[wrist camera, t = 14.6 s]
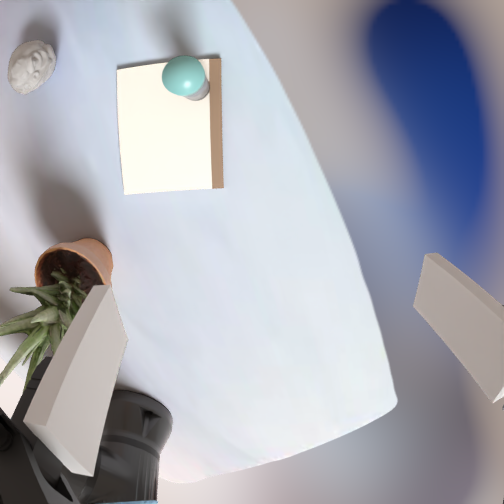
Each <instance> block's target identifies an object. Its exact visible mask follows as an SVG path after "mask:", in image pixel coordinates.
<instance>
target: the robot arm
mask: <svg viewBox="0 0 504 504" xmlns="http://www.w3.org/2000/svg"><path fill="white" fill-rule="evenodd" d="M413 307H414V308H415V309H416V310H417V311H418V312H419V313H420V315H421V316H422V317H423V318H424V319H425V320H426V321H427V322H428V324H429V325H430V326H431V327H432V328H433V329H434V331H435V332H436V333H437V334H438V335H439V336H440V338H441V339H442V340H443V341H444V342H445V343H446V345H447V346H448V347H449V348H450V349H451V351H452V352H453V353H454V354H455V355H456V357H457V358H458V359H459V361H460V362H461V363H462V364H463V365H464V367H465V368H466V369H467V370H468V372H469V373H470V374H471V376H472V377H473V378H474V380H475V381H476V382H477V383H478V385H479V386H480V387H481V389H482V390H483V391H484V393H485V394H486V395H487V397H488V398H489V399H490V401H491V402H492V403H493V402H495V401H497V400H498V399H500V398H502V397H503V396H504V305H502V304H500V303H499V302H498V301H497V300H496V299H494V298H493V297H492V296H491V295H490V294H489V293H487V292H486V291H485V290H484V289H483V288H481V287H480V286H479V285H478V284H477V283H475V282H474V281H473V280H472V279H470V278H469V277H468V276H467V275H465V274H464V273H463V272H462V271H460V270H459V269H458V268H457V267H455V266H454V265H453V264H451V263H450V262H449V261H447V260H446V259H445V258H444V257H442V256H441V255H440V254H438V253H431V254H425V256H424V261H423V266H422V271H421V275H420V280H419V284H418V288H417V293H416V297H415V301H414V304H413ZM127 342H128V337H127V334H126V332H125V329H124V326H123V323H122V320H121V317H120V314H119V311H118V307H117V304H116V301H115V298H114V294H113V291H112V288H111V285H96V286H93V288H92V289H91V291H90V292H89V294H88V296H87V297H86V299H85V301H84V302H83V304H82V306H81V307H80V309H79V311H78V312H77V314H76V316H75V318H74V319H73V321H72V323H71V325H70V326H69V328H68V330H67V332H66V333H65V335H64V337H63V339H62V341H61V343H60V344H59V346H58V348H57V350H56V352H55V354H54V356H53V357H45V358H44V359H43V360H42V361H41V362H40V363H39V364H38V365H37V366H36V368H35V370H34V372H33V374H32V376H31V380H29V382H28V384H27V386H26V389H25V390H24V392H23V394H22V396H21V398H20V401H19V403H18V405H17V407H16V409H15V411H14V413H13V416H12V417H11V419H9V418H8V416H7V415H6V414H5V413H4V411H3V410H2V409H1V408H0V504H157V503H158V502H157V488H158V472H159V458H160V453H161V451H162V449H163V447H164V445H165V443H166V442H167V440H168V438H169V436H170V434H171V431H172V422H173V419H172V416H171V414H170V412H169V411H168V410H167V409H166V408H165V407H164V406H163V405H161V404H160V403H159V402H157V401H155V400H153V399H151V398H149V397H147V396H144V395H141V394H138V393H134V392H129V391H121V390H115V391H113V389H114V386H115V382H116V379H117V375H118V372H119V368H120V365H121V361H122V358H123V355H124V352H125V348H126V345H127ZM502 410H504V405H503V409H502ZM503 504H504V500H503Z"/></svg>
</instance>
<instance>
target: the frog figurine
mask: <svg viewBox="0 0 504 504" xmlns="http://www.w3.org/2000/svg"><path fill="white" fill-rule="evenodd" d="M55 65H56V56H55V54H54V50H53V48H52V46H51V45H49V44H45V43H44V42H43V41H40V40H33V41H30V42H25V43H23V44H21V45H19V46H18V47H17V48H16V49H15V51H14V52H13V54H12V56H11V58H10V61H9V67H8V80H9V82H10V84H11V86H12V88H13V89H14V90H15V91H16V92H18V93H22V94H24V95H26V94H27V93H29V92H31V91H33V90H35V89H37V88H39V87H40V85H41V84H43V83H44V82H46V81H47V80H48V79H49V78H50V76H51V75H52V73H53V71H54V69H55Z"/></svg>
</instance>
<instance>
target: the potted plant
mask: <svg viewBox="0 0 504 504" xmlns="http://www.w3.org/2000/svg"><path fill="white" fill-rule="evenodd" d="M112 269H113V262H112V255H111V253H110V251H109V250H108V249H107V247H106V246H105V245H104V244H102V243H101V242H100V241H98V240H96V239H92V238H83V239H80V240H78V241H75V242H71V243H59V244H56V245H54V246H52V247H50V248H49V249H47V250H46V251H45V252H44V253H43V254H42V255H41V256H40V257H39V259H38V261H37V264H36V266H35V283H36V287H26V288H24V287H15V288H10V291H12V292H16V293H21V294H27V295H34V296H35V297H36V298H37V299H38V300H39V301H40V303H41V304H42V306H40V307H38V308H37V309H36V310H34V311H31V312H28V313H24V314H21V315H19V316H16V317H14V318H12V319H10V320H8V321H6V322H4V323H2V324H1V325H0V327H3V328H0V336H3V335H8V334H13V333H26V334H27V335H28V337H27V338H26V339H25V340H24V342H23V343H22V344H21V345H20V346H19V348H18V349H17V351H16V352H15V354H14V355H13V357H12V358H11V359H10V361H9V363H8V364H7V365H6V367H5V369H4V370H3V371H2V373H1V374H0V386H1V384H2V383H3V381H4V380H5V379H6V378H7V376H8V375H9V374H10V373H11V372H12V370H13V369H14V368H15V367H16V366H17V365H18V364H19V362H20V361H21V360H22V359H23V358H24V357H25V356H27V357H26V358H25V360H24V362H23V364H22V366H23V365H24V364H25V362H26V361H27V360H28V358H29V357H30V356H31V355H32V353H33V355H32V358H31V361H30V365H29V369H28V373H27V377H26V382H25V386H24V390H25V389H26V386H27V384H28V382H29V380H31V376H32V374H33V372H34V370H35V368H36V366H37V365H38V364H39V363H40V362H41V360H42V358H43V355H44V353H45V351H46V350H47V348H48V346H49V345H50V344H51V345H52V346H51V350H53V356H54V354H55V352H56V350H57V348H58V346H59V344H60V343H61V341H62V339H63V336H64V335H65V333H66V332H67V330H68V328H69V326H70V325H71V323H72V321H73V319H74V318H75V316H76V314H77V312H78V311H79V309H80V307H81V306H82V304H83V302H84V301H85V299H86V297H87V296H88V294H89V292H90V291H91V289H92V288H93V286H96V285H111V288H112V284H111V272H112ZM4 326H5V327H4ZM24 390H23V392H24Z"/></svg>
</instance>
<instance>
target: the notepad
mask: <svg viewBox="0 0 504 504" xmlns="http://www.w3.org/2000/svg"><path fill="white" fill-rule="evenodd" d="M198 61H199V62H200V63H201V64H202V66H203V68H204V71H205V75H206V77H207V79H208V81H209V83H210V91H209V94H208V95H207V96H206V97H205V98H204V99H202V100H199V101H192V100H189V99H187V98H185V97H183V96H178V95H176V94H173V93H171V92H169V91H168V90H167V89H166V88H165V86H164V85H163V82H162V72H163V69H164V67H165V65H166V64H167V63H168V62H167V63H158V64H151V65H144V66H137V67H131V68H125V69H120V70H117V105H118V127H119V142H120V155H121V166H122V176H123V185H124V194H125V195H127V194H138V193H150V192H163V191H177V190H194V189H215V188H224V186H223V151H222V98H221V59H201V60H198Z"/></svg>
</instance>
